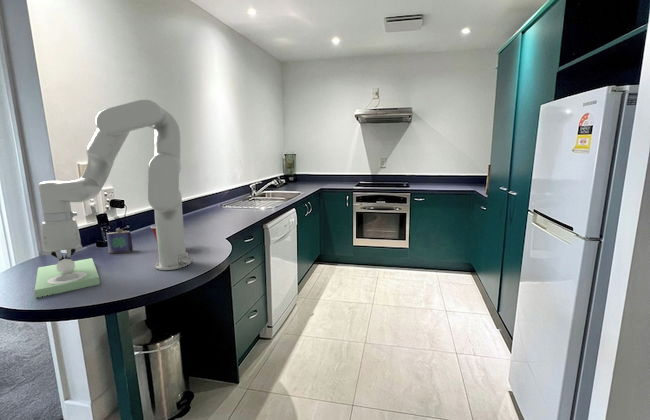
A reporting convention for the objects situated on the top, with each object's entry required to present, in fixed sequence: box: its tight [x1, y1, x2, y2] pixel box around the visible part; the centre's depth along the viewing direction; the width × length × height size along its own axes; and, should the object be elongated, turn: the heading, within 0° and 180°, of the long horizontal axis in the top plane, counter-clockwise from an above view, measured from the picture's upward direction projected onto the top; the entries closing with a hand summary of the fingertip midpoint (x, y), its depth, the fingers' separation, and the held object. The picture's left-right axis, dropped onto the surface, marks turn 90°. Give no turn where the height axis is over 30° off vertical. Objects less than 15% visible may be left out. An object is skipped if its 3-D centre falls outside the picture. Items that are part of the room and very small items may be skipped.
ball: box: [56, 258, 75, 274], centre depth 110 cm, size 5×5×5 cm
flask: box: [105, 227, 134, 254], centre depth 143 cm, size 9×3×11 cm, turn 109°
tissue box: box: [34, 257, 101, 299], centre depth 112 cm, size 26×16×3 cm, turn 39°
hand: (66, 268), depth 114 cm, fingers closed
